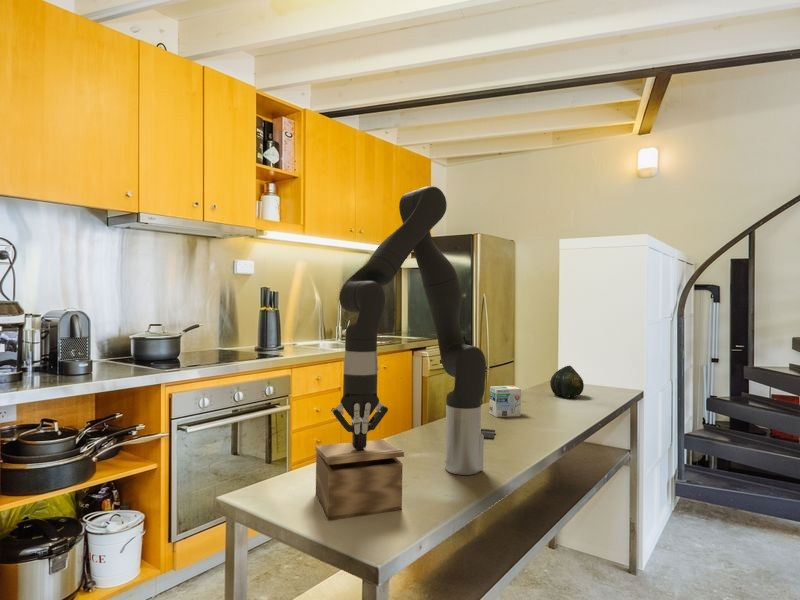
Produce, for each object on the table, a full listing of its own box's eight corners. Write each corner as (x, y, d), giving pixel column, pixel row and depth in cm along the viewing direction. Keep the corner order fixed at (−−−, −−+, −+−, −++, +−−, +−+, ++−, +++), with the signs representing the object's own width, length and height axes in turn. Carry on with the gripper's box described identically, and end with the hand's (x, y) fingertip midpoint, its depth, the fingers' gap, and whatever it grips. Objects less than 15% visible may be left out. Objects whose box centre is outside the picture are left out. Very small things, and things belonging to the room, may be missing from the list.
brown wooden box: (381, 485, 119) (382, 444, 119) (401, 509, 106) (402, 463, 106) (315, 494, 114) (316, 450, 114) (328, 520, 101) (329, 471, 100)
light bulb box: (495, 417, 188) (496, 389, 188) (488, 413, 195) (489, 386, 194) (521, 416, 191) (521, 388, 190) (513, 412, 197) (513, 385, 197)
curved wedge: (455, 431, 170) (455, 426, 170) (495, 434, 167) (495, 429, 167) (451, 437, 162) (451, 432, 162) (493, 441, 159) (493, 436, 159)
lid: (383, 443, 119) (382, 438, 119) (404, 456, 106) (403, 451, 106) (315, 450, 114) (315, 445, 114) (328, 464, 100) (328, 459, 100)
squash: (552, 387, 221) (573, 362, 222) (539, 383, 236) (560, 359, 237) (574, 408, 222) (596, 383, 223) (561, 402, 237) (581, 379, 238)
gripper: (383, 368, 115) (382, 443, 114) (327, 369, 110) (326, 447, 110) (394, 372, 108) (393, 452, 107) (334, 374, 103) (333, 457, 103)
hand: (359, 449), depth 109 cm, fingers closed
